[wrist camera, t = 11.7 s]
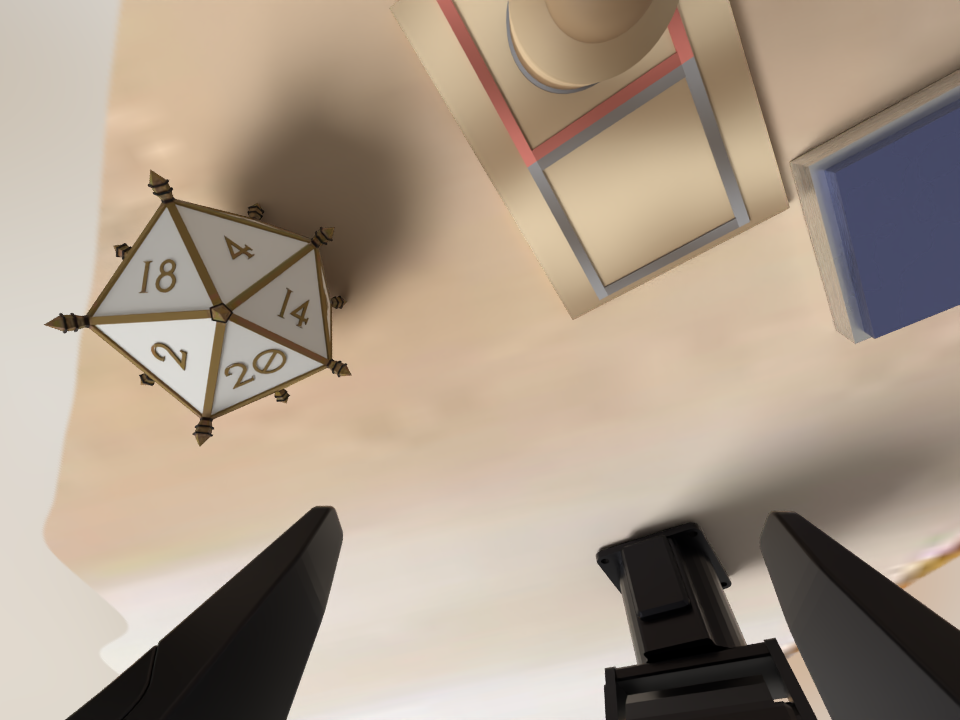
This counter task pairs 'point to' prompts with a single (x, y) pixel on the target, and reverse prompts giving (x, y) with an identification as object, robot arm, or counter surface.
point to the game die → (216, 307)
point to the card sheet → (609, 144)
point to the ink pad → (888, 213)
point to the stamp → (582, 38)
